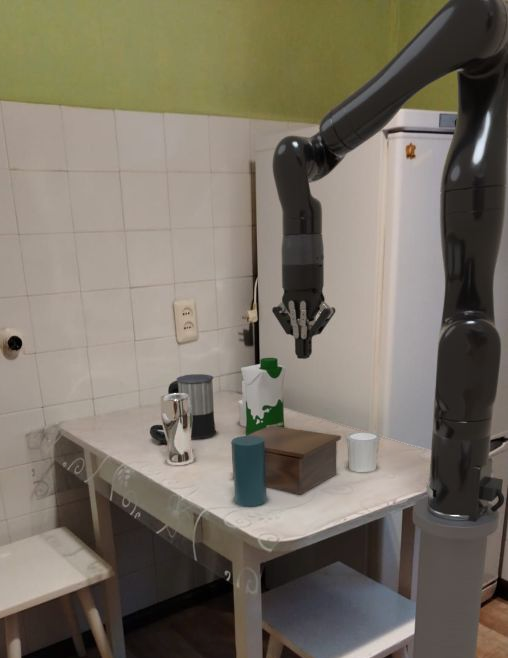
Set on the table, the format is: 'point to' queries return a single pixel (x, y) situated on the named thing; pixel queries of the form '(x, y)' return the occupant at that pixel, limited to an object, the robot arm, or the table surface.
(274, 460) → the bin
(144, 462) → the table surface
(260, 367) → the milk carton
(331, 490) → the table surface
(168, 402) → the beer glass
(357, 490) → the table surface
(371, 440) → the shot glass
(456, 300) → the robot arm
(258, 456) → the can
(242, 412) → the pale grey rounded piece
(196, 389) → the milk frother
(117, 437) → the table surface
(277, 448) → the bin lid
